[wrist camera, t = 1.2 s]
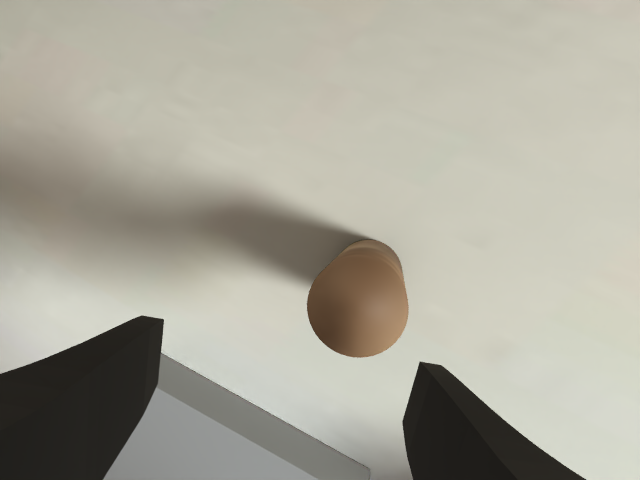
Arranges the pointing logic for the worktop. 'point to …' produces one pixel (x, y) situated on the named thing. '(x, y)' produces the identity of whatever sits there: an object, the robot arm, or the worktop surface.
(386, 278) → the dowel
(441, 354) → the worktop surface
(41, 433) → the robot arm
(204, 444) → the socket block
